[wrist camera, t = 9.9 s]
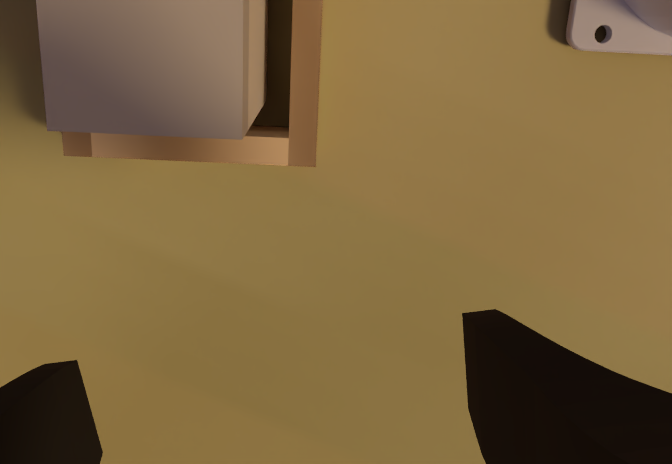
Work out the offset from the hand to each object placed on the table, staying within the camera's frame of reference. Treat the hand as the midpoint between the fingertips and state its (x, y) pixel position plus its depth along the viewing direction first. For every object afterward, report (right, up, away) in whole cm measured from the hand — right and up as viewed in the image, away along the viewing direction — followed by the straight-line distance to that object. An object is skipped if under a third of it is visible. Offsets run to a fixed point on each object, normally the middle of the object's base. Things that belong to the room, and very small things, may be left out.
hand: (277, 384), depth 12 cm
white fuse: (-3, +9, +7) cm, 12 cm away
